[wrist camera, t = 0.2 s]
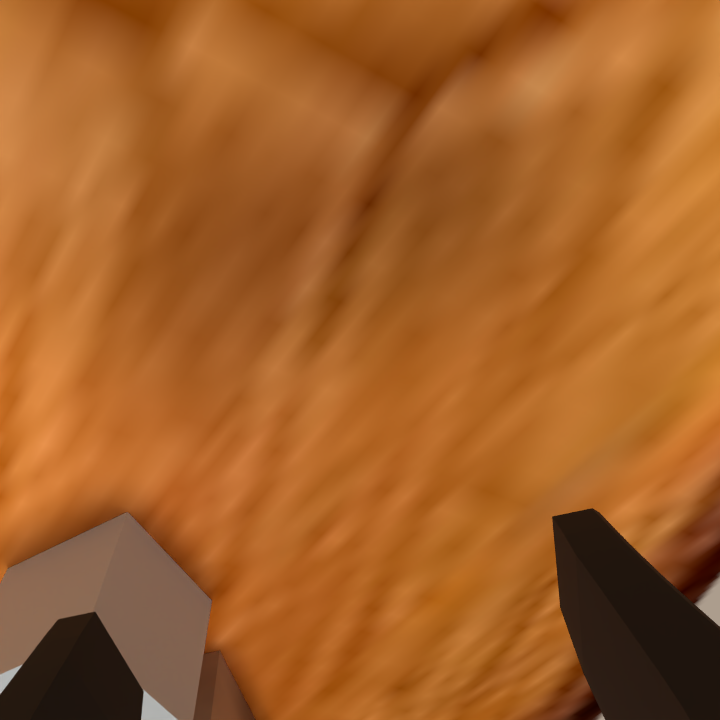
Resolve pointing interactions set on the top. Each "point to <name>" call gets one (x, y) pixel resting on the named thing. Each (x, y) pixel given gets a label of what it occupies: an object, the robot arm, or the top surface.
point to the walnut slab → (219, 692)
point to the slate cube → (113, 610)
